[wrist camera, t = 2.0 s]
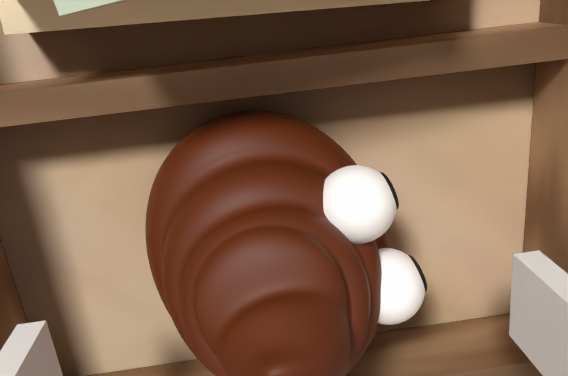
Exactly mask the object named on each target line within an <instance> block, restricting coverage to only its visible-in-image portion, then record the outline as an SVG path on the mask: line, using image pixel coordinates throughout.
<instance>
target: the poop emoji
mask: <svg viewBox="0 0 568 376" xmlns="http://www.w3.org/2000/svg"><path fill="white" fill-rule="evenodd" d="M398 206H399V203H398V198H397V194H396V192H395V189H394V187H393V185H392V183H391V182H390V180H389V179H388V177H387V176H386V175H385V174H384V173H382V172H378V171H377V170H375V169H372V168H370V167H367V166H361V165H357V164H356V163H355V162H354V161H353V159H352V158H351V157H350V156H349V155H348V154H347V153H346V152H345V150H344V149H342V148H341V147H340V146H339V145H338V144H337V143H336V142H335V141H334V140H332V139H331V138H330V137H329V136H327V135H326V134H325V133H323V132H322V131H320V130H319V129H317V128H315V127H314V126H312V125H310V124H308V123H306V122H304V121H301V120H299V119H296V118H294V117H291V116H287V115H283V114H279V113H273V112H262V111H252V112H241V113H235V114H230V115H227V116H223V117H220V118H217V119H215V120H212V121H210V122H208V123H206V124H204V125H202V126H201V127H199V128H197V129H196V130H194V131H193V132H191V133H190V134H189V135H187V136H186V137H185V138H184V139H183V140H181V141H180V142H179V143H178V144H177V145H176V146H175V148H174V149H173V150H172V151H171V152H170V154H169V155H168V156H167V158H166V159H165V161H164V162H163V164H162V166H161V167H160V169H159V171H158V173H157V175H156V178H155V180H154V183H153V186H152V189H151V192H150V196H149V200H148V206H147V213H146V245H147V253H148V259H149V264H150V268H151V272H152V275H153V278H154V282H155V284H156V287H157V289H158V292H159V294H160V297H161V299H162V301H163V303H164V305H165V307H166V309H167V311H168V312H169V314H170V316H171V317H172V320H173V322H174V324H175V326H176V328H177V330H178V332H179V334H180V335H181V337H182V338H183V340H184V342H185V343H186V345H187V346H188V347H189V349H190V350H191V351H192V353H193V354H194V355H195V356H196V357H197V359H198V360H199V361H200V362H201V363H202V364H203V365H204V366H205V367H206V368H207V369H208V370H209V371H210V372H211V373H213V374H214V375H215V376H344V375H346V374H347V373H348V372H349V371H350V370H351V369H352V368H353V366H354V365H355V364H356V363H357V362H358V360H359V359H360V358H361V356H362V355H363V353H364V352H365V350H366V349H367V347H368V346H369V344H370V343H371V341H372V339H373V337H374V336H375V334H376V332H377V329H378V327H379V325H380V324H385V325H392V324H398V323H402V322H404V321H406V320H408V319H410V318H411V317H412V316H413V315H414V314H415V313H416V312H417V311H418V310H419V308H420V307H421V305H422V303H423V300H424V296H425V292H426V291H427V284H426V280H425V277H424V274H423V272H422V270H421V268H420V266H419V265H418V263H417V262H416V260H415V259H414V258H413V257H412V256H410V255H407V254H405V253H403V252H401V251H399V250H396V249H392V248H389V240H388V233H387V230H388V229H389V227H390V226H391V224H392V222H393V220H394V218H395V215H396V210H397V209H398Z"/></svg>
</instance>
